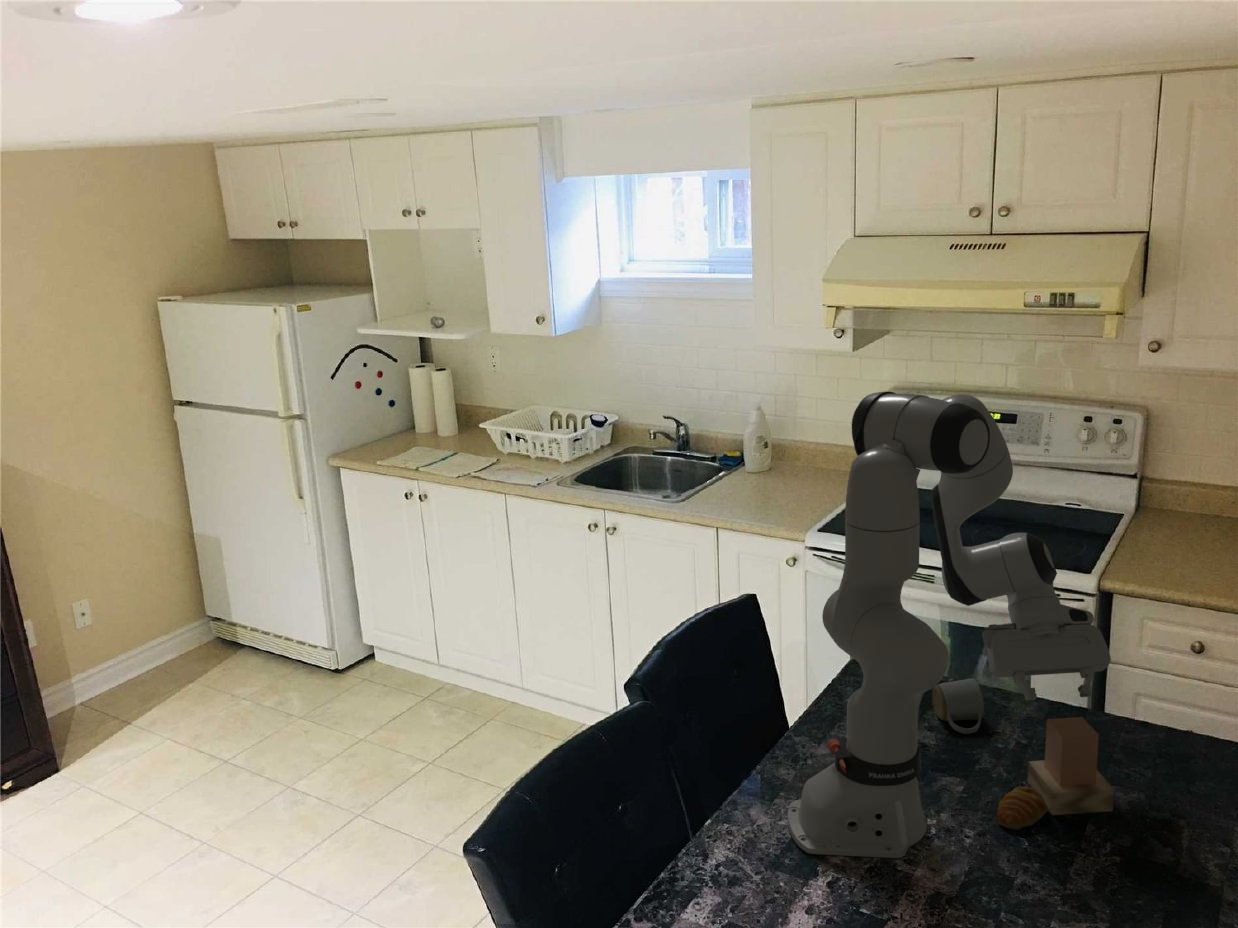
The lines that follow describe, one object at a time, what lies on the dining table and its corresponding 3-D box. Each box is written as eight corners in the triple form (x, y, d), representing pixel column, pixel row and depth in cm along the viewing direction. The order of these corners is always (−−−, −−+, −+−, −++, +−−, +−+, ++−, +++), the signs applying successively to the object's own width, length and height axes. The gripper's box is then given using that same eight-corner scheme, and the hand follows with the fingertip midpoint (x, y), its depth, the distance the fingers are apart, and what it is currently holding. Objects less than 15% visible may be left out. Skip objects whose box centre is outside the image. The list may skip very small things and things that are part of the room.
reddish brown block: (1059, 785, 172) (1062, 737, 170) (1044, 766, 178) (1046, 719, 175) (1095, 783, 172) (1098, 734, 170) (1079, 764, 178) (1082, 716, 176)
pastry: (1026, 838, 166) (1026, 817, 165) (985, 823, 170) (986, 803, 170) (1050, 812, 172) (1051, 791, 171) (1010, 798, 177) (1011, 778, 176)
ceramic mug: (929, 710, 207) (930, 675, 205) (970, 706, 207) (971, 671, 205) (949, 737, 197) (950, 701, 195) (991, 733, 197) (992, 697, 195)
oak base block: (1052, 815, 171) (1053, 793, 170) (1027, 781, 181) (1028, 761, 180) (1112, 810, 171) (1114, 789, 170) (1084, 777, 181) (1085, 757, 180)
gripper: (984, 618, 181) (1003, 695, 174) (1101, 611, 182) (1124, 688, 175) (975, 631, 187) (993, 706, 180) (1088, 625, 187) (1110, 699, 180)
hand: (1059, 697), depth 177 cm, fingers open, 8 cm apart
